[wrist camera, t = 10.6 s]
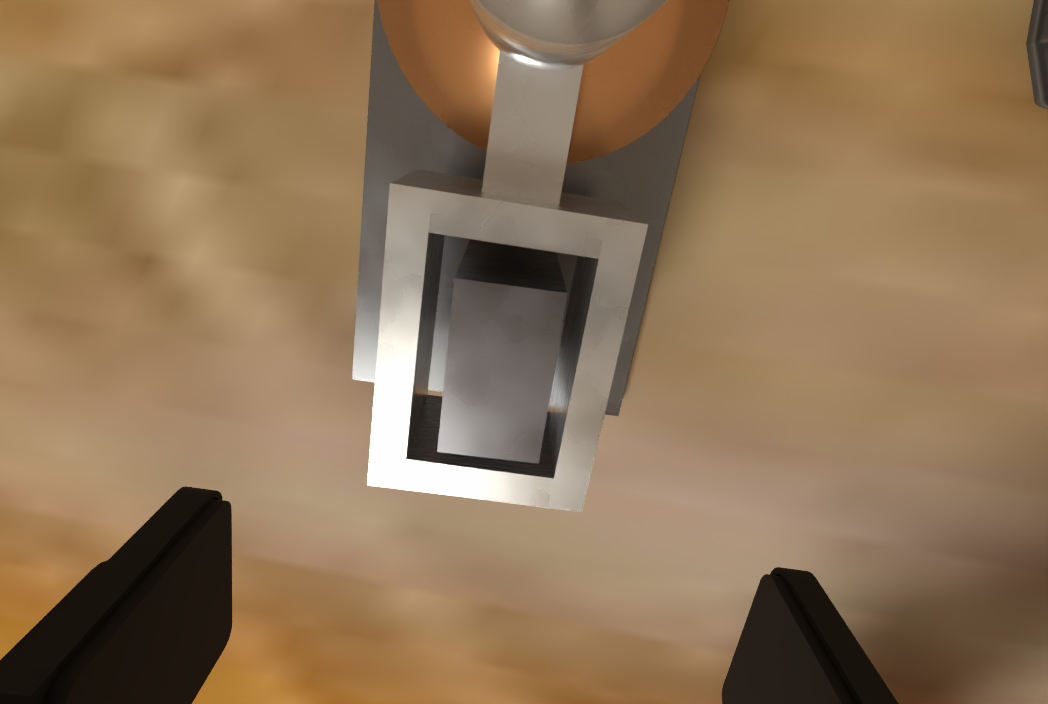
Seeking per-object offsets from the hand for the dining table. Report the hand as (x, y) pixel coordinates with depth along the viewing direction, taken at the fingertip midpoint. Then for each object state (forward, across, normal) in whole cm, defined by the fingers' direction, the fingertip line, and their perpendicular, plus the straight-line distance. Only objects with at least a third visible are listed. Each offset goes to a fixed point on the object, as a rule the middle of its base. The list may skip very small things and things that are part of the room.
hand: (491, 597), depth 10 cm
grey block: (+18, 0, -1) cm, 18 cm away
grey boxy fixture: (+19, +1, -6) cm, 20 cm away
